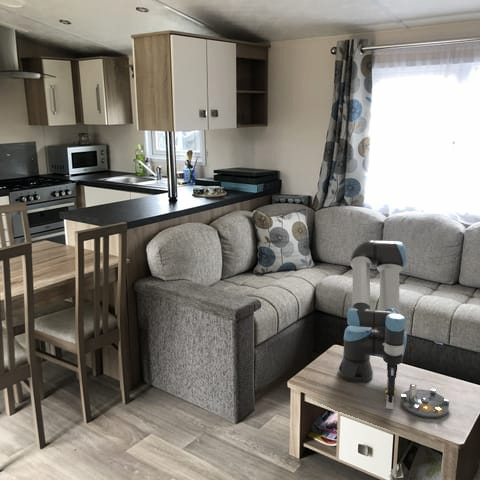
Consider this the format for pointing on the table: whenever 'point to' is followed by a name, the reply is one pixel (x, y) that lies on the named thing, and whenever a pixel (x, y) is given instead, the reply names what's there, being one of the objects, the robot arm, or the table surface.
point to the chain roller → (386, 394)
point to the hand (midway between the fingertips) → (389, 399)
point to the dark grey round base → (424, 403)
